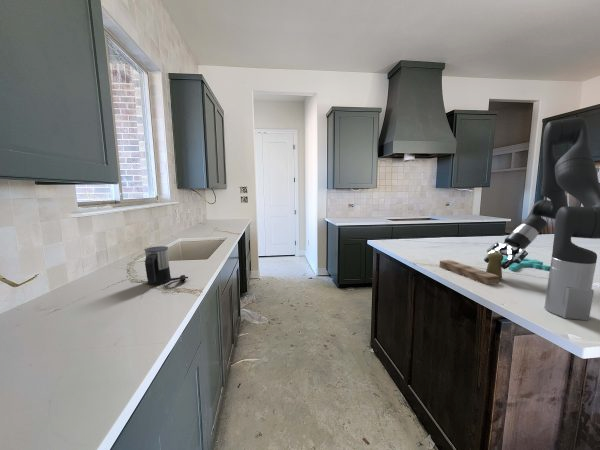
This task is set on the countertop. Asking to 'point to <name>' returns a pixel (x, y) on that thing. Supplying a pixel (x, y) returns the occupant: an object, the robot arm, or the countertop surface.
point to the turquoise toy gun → (526, 264)
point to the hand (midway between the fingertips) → (493, 264)
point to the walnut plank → (470, 272)
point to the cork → (495, 264)
